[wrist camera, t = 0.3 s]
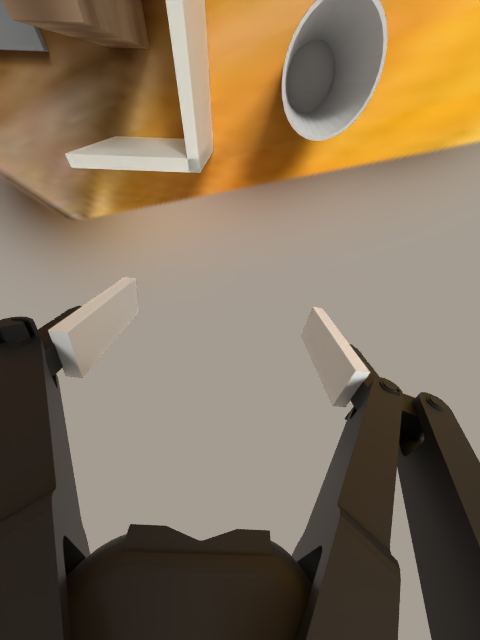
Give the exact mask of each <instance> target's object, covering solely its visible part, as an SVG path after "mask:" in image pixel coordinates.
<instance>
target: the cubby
mask: <svg viewBox="0 0 480 640" xmlns="http://www.w3.org/2000/svg"><path fill="white" fill-rule="evenodd" d="M166 7H167V14H168V22H169V29H170V36H171V43H172V51H173V58H174V65H175V73H176V80H177V87H178V94H179V102H180V109H181V116H182V124H183V131H184V138H185V139H178V138H152V137H127V136H114V137H112V138H109V139H106V140H103V141H100V142H97V143H94V144H91V145H88V146H86V147H83V148H80V149H77V150H74V151H71V152H68V153H65V155H66V157H67V159H68V161H69V163H70V165H71V167H72V168H89V169H115V170H140V171H165V172H190V173H201V171H202V169H203V168H204V166H205V164H206V163H207V161H208V159H209V158H210V156H211V154H212V153H213V151H214V147H213V130H212V113H211V95H210V78H209V61H208V43H207V26H206V8H205V0H166Z"/></svg>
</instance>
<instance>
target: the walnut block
mask: <svg viewBox="0 0 480 640" xmlns="http://www.w3.org/2000/svg"><path fill="white" fill-rule="evenodd" d="M3 2H4V4H5V6H6V8H7V10H8V13H9V15H10V17H11V19H12V20H15V21H18V22H21V23H25V24H28V25H32V26H35V27H39V28H42V29H46V30H49V31H52V32H56V33H59V34H63V35H66V36H70V37H73V38H76V39H80V40H83V41H87V42H90V43H94V44H97V45H101V46H104V47H110V48H137V49H150V44H149V38H148V33H147V28H146V22H145V17H144V12H143V6H142V1H141V0H3Z"/></svg>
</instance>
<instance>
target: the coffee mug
mask: <svg viewBox="0 0 480 640" xmlns="http://www.w3.org/2000/svg"><path fill="white" fill-rule="evenodd" d="M387 38H388V33H387V21H386V17H385V13H384V9H383V6H382V4H381V2H380V0H316V1H315V2H314V4H313V5H312V6H311V7H310V8H309V9H308V11H307V12H306V14H305V15H304V17H303V18H302V19H301V21H300V23H299V25H298V27H297V29H296V31H295V33H294V35H293V37H292V39H291V42H290V45H289V48H288V51H287V53H286V58H285V63H284V67H283V75H282V100H283V106H284V111H285V114H286V116H287V119H288V121H289V123H290V125H291V126H292V128H293V129H294V130H295V131H296V132H297V133H298V134H299V135H300V136H302V137H304V138H305V139H308V140H312V141H323V140H327V139H330V138H332V137H334V136H336V135H338V134H340V133H341V132H343V131H344V130H345V129H347V128H348V127H349V126H350V125H351V124H352V123H353V122H354V121H355V120H356V119H357V118H358V117H359V115H360V114H361V113H362V111H363V110H364V109H365V107H366V106H367V104H368V102H369V101H370V99H371V97H372V95H373V93H374V91H375V89H376V87H377V84H378V82H379V79H380V76H381V73H382V70H383V66H384V62H385V57H386V52H387Z"/></svg>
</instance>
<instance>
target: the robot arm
mask: <svg viewBox="0 0 480 640" xmlns="http://www.w3.org/2000/svg"><path fill="white" fill-rule="evenodd" d="M138 313H139V305H138V295H137V285H136V278H130V277H123V278H122V279H120V280H119V281H118V282H116V283H115V284H113V285H112V286H110V287H109V288H108V289H106V290H105V291H104V292H102V293H101V294H99V295H98V296H96V297H95V298H93V299H92V300H90V301H89V302H88V303H86V304H85V305H83V306H77V307H74V308H72V309H69V310H67V311H66V312H64V313H62V314H61V316H58V317H56V318H55V320H52V321H50V322H49V323H47V324H46V325H44V326H43V327H41V328H40V329H38V330H37V328H36V325H35V323H34V321H33V319H31V318H28V317H11V318H6V319H2V320H0V640H398V622H399V602H400V582H401V579H400V568H399V565H398V561H397V560H396V559H395V558H394V557H393V556H392V555H391V552H390V537H391V526H392V515H393V503H394V492H395V481H396V470H397V468H398V473H399V478H400V482H401V488H402V493H403V498H404V503H405V508H406V513H407V518H408V523H409V528H410V533H411V538H412V543H413V548H414V553H415V558H416V563H417V568H418V573H419V578H420V583H421V588H422V593H423V598H424V603H425V608H426V613H427V618H428V624H429V628H430V633H431V638H432V640H480V462H479V460H478V459H477V457H476V455H475V453H474V451H473V449H472V448H471V446H470V444H469V442H468V440H467V438H466V437H465V435H464V433H463V431H462V429H461V427H460V425H459V424H458V422H457V420H456V418H455V416H454V414H453V412H452V411H451V409H450V408H449V407H448V406H447V405H446V404H445V403H444V402H443V401H442V400H441V399H439V398H438V397H436V396H433V395H431V394H428V393H425V392H421V393H420V394H419V395H418V396H417V397H416V398H414V397H411V396H408V395H405V394H403V393H402V391H401V389H399V387H398V386H397V385H396V384H394V383H393V382H391V381H389V380H387V379H385V378H381V377H379V376H378V374H377V373H376V372H375V371H374V369H373V368H372V367H371V366H370V364H369V363H368V362H367V360H366V359H365V358H364V357H363V355H362V354H361V353H360V351H359V350H358V349H357V348H355V347H354V346H353V345H351V344H349V343H348V342H347V341H346V340H345V338H344V337H343V335H342V334H341V333H340V331H339V330H338V329H337V327H335V325H334V323H333V322H332V321H331V319H330V318H329V317H328V315H327V314H326V313H325V311H324V310H323V309H322V308H317V307H313V308H312V310H311V312H310V315H309V317H308V320H307V322H306V325H305V327H304V329H303V332H302V334H301V337H302V339H303V341H304V343H305V346H306V348H307V350H308V352H309V354H310V357H311V359H312V361H313V363H314V365H315V368H316V370H317V372H318V375H319V377H320V379H321V381H322V384H323V386H324V388H325V390H326V392H327V394H328V397H329V399H330V401H331V404H332V406H339V407H346V405H347V404H348V403H349V401H350V400H351V402H352V404H353V405H354V407H353V408H352V410H351V411H350V412H349V413H348V415H347V416H346V418H345V419H346V420H347V422H346V424H345V427H344V430H343V432H342V435H341V437H340V440H339V443H338V446H337V448H336V451H335V454H334V456H333V458H332V461H331V464H330V466H329V469H328V472H327V474H326V477H325V480H324V482H323V485H322V487H321V490H320V493H319V496H318V498H317V501H316V503H315V506H314V508H313V511H312V514H311V516H310V519H309V522H308V524H307V527H306V529H305V532H304V534H303V536H302V537H301V539H300V541H299V542H298V544H297V546H296V548H295V550H294V552H293V554H292V556H291V555H290V554H289V553H288V552H287V551H285V550H284V549H283V548H282V547H281V546H279V545H277V544H276V543H274V542H272V541H270V531H266V530H245V529H236V530H233V531H230V532H227V533H224V534H221V535H218V536H216V537H212V538H209V539H206V540H204V541H199V540H196V539H194V538H192V537H190V536H187V535H185V534H183V533H181V532H179V531H176V530H174V529H172V528H170V527H167V526H157V525H136V524H130V527H129V529H128V532H127V534H126V535H123V536H120V537H118V538H116V539H113V540H111V541H110V542H108V543H106V544H105V545H103V546H101V547H100V548H98V549H97V550H96V551H94V552H93V553H92V554H90V552H89V547H88V542H87V538H86V534H85V531H84V529H83V525H82V521H81V516H80V510H79V504H78V497H77V492H76V485H75V479H74V473H73V467H72V461H71V454H70V448H69V442H68V436H67V430H66V424H65V418H64V412H63V406H62V399H61V393H60V387H59V381H58V377H57V375H56V373H57V372H58V371H59V370H60V369H61V368H63V370H64V373H65V375H66V376H70V377H78V378H83V376H84V375H85V374H86V373H87V372H88V371H89V370H90V368H91V367H92V366H93V365H94V364H95V363H96V361H97V360H98V359H99V358H100V357H101V356H102V355H103V353H104V352H105V351H106V350H107V349H108V347H109V346H110V345H111V344H112V343H113V342H114V341H115V339H116V338H117V337H118V336H119V335H120V334H121V332H122V331H123V330H124V329H125V328H126V327H127V326H128V324H129V323H130V322H131V321H132V320H133V318H134V317H135V316H136V315H137V314H138Z"/></svg>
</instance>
